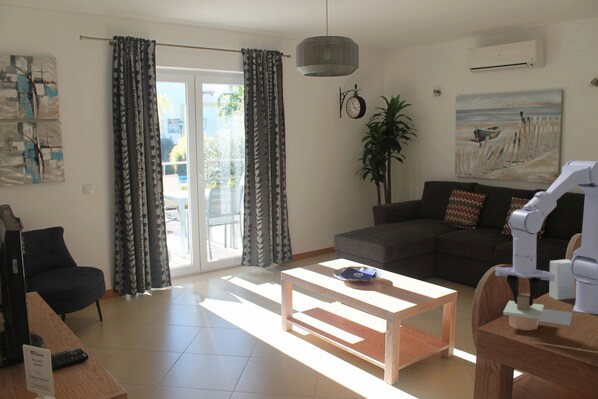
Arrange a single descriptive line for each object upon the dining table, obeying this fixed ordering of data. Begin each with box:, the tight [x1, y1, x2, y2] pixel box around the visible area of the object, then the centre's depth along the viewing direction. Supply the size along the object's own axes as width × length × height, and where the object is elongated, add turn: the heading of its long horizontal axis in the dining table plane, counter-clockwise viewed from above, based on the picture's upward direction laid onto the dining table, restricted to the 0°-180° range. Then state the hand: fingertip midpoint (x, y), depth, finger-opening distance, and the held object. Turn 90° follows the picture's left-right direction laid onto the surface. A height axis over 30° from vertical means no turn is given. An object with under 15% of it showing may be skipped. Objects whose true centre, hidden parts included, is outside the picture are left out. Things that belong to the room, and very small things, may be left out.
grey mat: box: [538, 308, 574, 327], centre depth 148 cm, size 11×11×1 cm
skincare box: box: [548, 258, 576, 301], centre depth 163 cm, size 6×4×12 cm
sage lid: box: [502, 292, 545, 319], centre depth 142 cm, size 9×9×4 cm
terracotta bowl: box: [508, 315, 539, 331], centre depth 142 cm, size 7×7×4 cm
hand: (523, 303), depth 142 cm, fingers closed on sage lid, 3 cm apart
